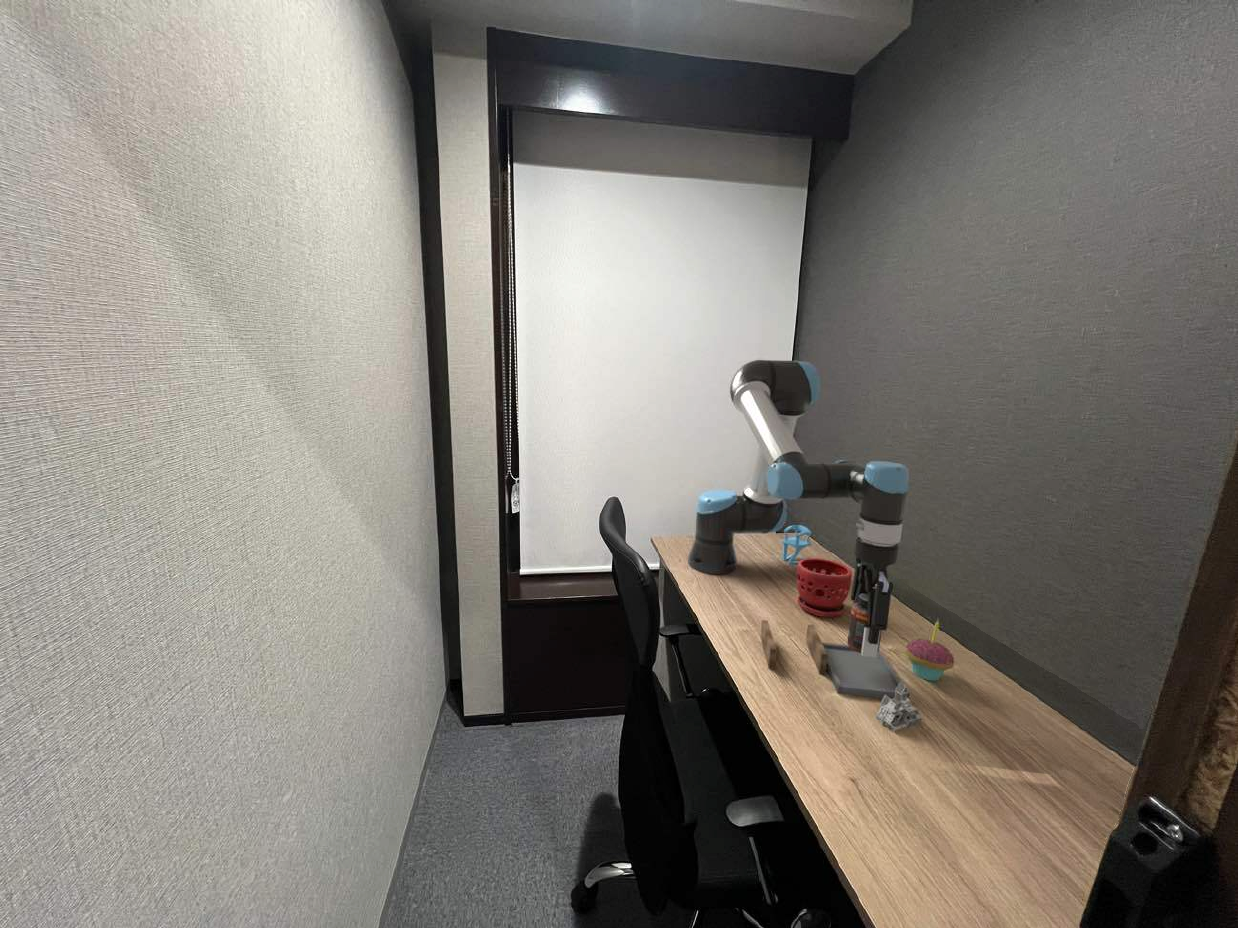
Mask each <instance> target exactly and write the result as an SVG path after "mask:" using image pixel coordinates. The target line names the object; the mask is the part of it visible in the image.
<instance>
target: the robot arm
mask: <svg viewBox="0 0 1238 928" xmlns="http://www.w3.org/2000/svg"><path fill="white" fill-rule="evenodd" d="M818 374H819V373H818V370H817V369H816V367H815V366H814V365H813V364H812V363H811V362H808V361H800V360H775V359H774V360H772V359H771V360H769V359H767V360H766V359H756V360H752V361H749V362H747V363H745V364H743V365H742V366H741V367H740V368H739V369H738V370H737V371H736V372H735V374H734V375H733V377H732V380H731V382H730V386H729V393H730V394H729V395H730V398H731V403H732V404H733V406H734V407H735V409H736V410H737V411H738V412H740V413H742V415H743V416H744V418H745V420H746V422H747V424H748V426H749V428H750V430H751V432H752V434H753V437H754V438H755V440H756V442H757V444H758V447H757V452H756V456H755V460H754V461H755V462H754V466H753V472H752V473H751V474H752V476H751V480H750V483H749V484H747V485H745V487H744V488H743V492H742V495H737V493H736V492H735V491H733V490H730V489H711V490H708V491H705V492H703V493H702V494H700V496H698V499H697V506H696V509H695V510H696V518H695V519H696V520H695V535H694V541H693V543H692V547H691V549H690V551H689V553H688V556H687V557H688V558H687V564H688V566H689V568H691V569H693V570H695V571H697V572H700V573H704V574H709V575H727V574H731V573H734V572H736V570H737V568H738V558H737V557H738V556H737V555H736V550H735V547H734V546H735V545H734V536H735V534H763V535H764V534H768V533H776V532H778V531H781V529H782V528H783V526H784V525H785V523H786V520H787V516H788V511H787V509H788V506H787V502H786V500H790V501H793V500H810V499H811V500H819V499H822V500H830V499H831V500H834V499H836V500H837V499H838V500H839V499H840V500H841V499H844V500H846V499H849V500H852V501H854V502H856V503H858V504H860V512H859V519H858V522H856V523H855V525H856V527H857V528H858V529H857V536H858V537H857V538H856V542H855V548H854V554H855V569H854V576H853V581H852V582H853V583H852V589H851V595H850V600H851V601H852V602H853V604H852V606H853V605H854V604H855V603H857V602H858V598H859V595H860V594H863V593H866V594H868V621H867V624H864V627H865V628H864V635H863V643H862V650H861V655H862V656H867V657H877V650H878V643H879V637H880V630H882V631H885V632H886V631H887V630H888V622H889V614H890V613H889V612H890V605H891V597H892V591H893V588H894V583H893V581H888V570H887V569H888V567H889V566H891V565H894V564H896V563H897V561H898V555H899V549H900V547H899V545H898V544H899V543H900V541H901V539H902V537H901V536H902V529H903V524H904V523H903V520H904V513H905V507H906V503H907V502H906V500H907V494H908V490H909V488H910V487H909V476H910V470H909V468H908V467H907V466H906V465H904V464H901V463H899V462H892V461H886V460H885V461H883V460H882V461H881V460H873V461H870V462H868V463H867V464H866V466H865V465H863V464H860V463H858V462H856V461H852V460H846V459H839V460H835V461H834V462H832V463H829V462H828V463H827V462H826V463H825V462H823V463H822V462H821V463H819V462H813V463H812V462H809V461H808V459H807V458H806V456H805V454H804V452H803V451H802V450H801V448H800V447H799V444H798V442H797V441H796V439H795V438H794V432H795V428H796V424H797V420H798V418H800V417H802V416H803V415H805V411H806V409H807V406H810V405H814V404H815V402H817V401H818V398H819V395H820V390H821V389H820V387H821V383H820V377H819V375H818Z"/></svg>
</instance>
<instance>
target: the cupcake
mask: <svg viewBox="0 0 1238 928" xmlns="http://www.w3.org/2000/svg"><path fill="white" fill-rule="evenodd" d="M939 620H940V619H939V618H937V621H936V622H935V623H934V628H933V632H932V633H933V634H932V637H931V639H925V638H917V639H915V640H912V641H910V642H908V644H907V645H906V650H905V654H906V656H907V658H908V660H909V661H910V662H911V666H912V672H913V673H914V674H915V675H916V676H918V678H921V679H923V680H926V681H931V682H932V681H933V682H934V681H938V680H939V679H940V678H941V676H942V675H943V673H944V672H945V671H948V670H950V669H952V668H954V663H955V658H954V655H953V653H952V652H951V650H949V649H948V648H947V647H945V645H943V644H941V643H939V642H937V635H938V633H939V632H938V631H939V627H940V623H939Z"/></svg>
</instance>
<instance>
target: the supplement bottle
mask: <svg viewBox="0 0 1238 928" xmlns="http://www.w3.org/2000/svg"><path fill="white" fill-rule="evenodd" d="M867 621H868V594H866V593H863V594H860V595H859V598H858V602H857V603H855V604H854V605H853V604H852V607H851V612H850V619H849V626H848V634H847V645H849V647H850V648H851V649H853V650H854V651H856V652H859V653H861V650H862V643H863V635H864V628H865V627H864V624H867ZM882 631H883V630H880V637H879V643H878V650H877V652H878V651H879V649H880V647H881V646H880V645H881V639H882Z"/></svg>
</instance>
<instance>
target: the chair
mask: <svg viewBox="0 0 1238 928" xmlns="http://www.w3.org/2000/svg"><path fill="white" fill-rule="evenodd" d="M790 530H793V531H795V533H794V536H793V537H788V532H789V531H790ZM783 531H784V538H783V539H781V542H782V544H783V547H782V548H783V549H782V557H781V558H782V559H781V560H782V562H783V561H787V560H788V561H787V564H790V565H791V564H798V563H799V561H800V560H797V561H794V560H795V559H796V558H797V557H799V558H800V559H802V560H803V559H807V558H805V557H803V556H801V555H799V553H800V552H801V551H802V550H803V549H804V548H807V547H810V546H812V542H810V537H811V535H812V531H811V530H810V529H809V528H808V527H806V526H804V525H800V524H798V525H790V526H788V527H786V528H785V529H784V530H783ZM805 535H807V537H805V540H804V539H802V538H800V537H802V536H805ZM789 546H791V547H793V548H795V550H794V551H795V552H794V553H791V554H789V555H788V556H787V554H788V548H789Z"/></svg>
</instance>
